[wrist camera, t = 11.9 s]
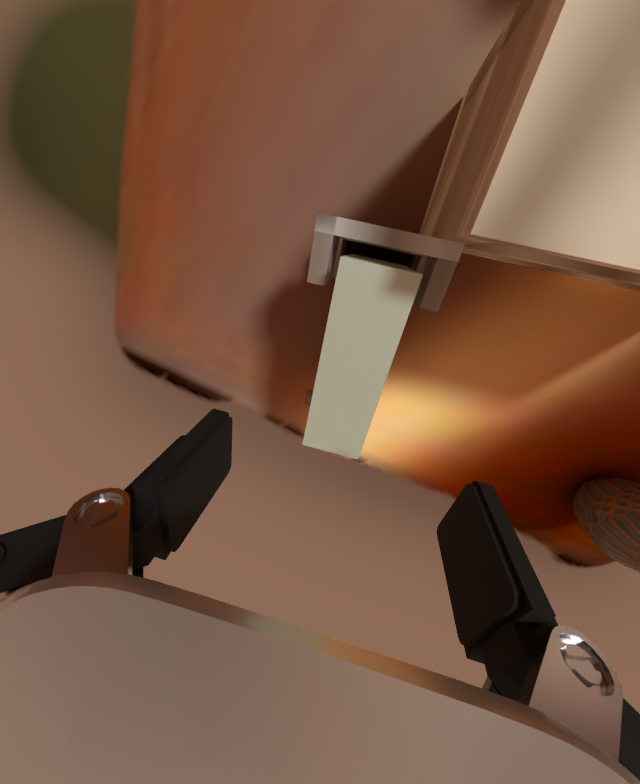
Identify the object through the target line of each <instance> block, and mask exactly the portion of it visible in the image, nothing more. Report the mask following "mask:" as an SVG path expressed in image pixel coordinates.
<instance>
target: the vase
mask: <svg viewBox="0 0 640 784" xmlns="http://www.w3.org/2000/svg"><path fill="white" fill-rule="evenodd" d="M573 510H574V513H575V516H576V519H577V521H578V523H579V525H580V526H581V528H582V529H583V531H584V532H585V534H586V535H587V536H588V537H589V539H590V540H591V541H592V542H593V543H594V544H595V545H596V546H597V547H598V548H600V549H601V550H602V551H603V552H604V553H606V554H607V555H608V556H610V557H611V558H613V559H614V560H616V561H617V562H619V563H621V564H623V565H625V566H627V567H629V568H632V569H634V570H636V571H638V572H640V484H639V483H637V482H634V481H631V480H626V479H622V478H612V477H603V478H596V479H593V480H590V481H588V482H586V483H584V484H583V485H581V486H580V487H579V489H578V490H577V492H576V494H575V496H574V499H573Z"/></svg>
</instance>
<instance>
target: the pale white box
mask: <svg viewBox="0 0 640 784" xmlns="http://www.w3.org/2000/svg"><path fill="white" fill-rule="evenodd" d="M422 276H423V274H421V273H419V272H416V271H414V270H412V269H410V268H408V267H406V266H404V265H402V264H398V263H393V262H389V261H384V260H380V259H375V258H371V257H366V256H362V255H357V254H350V255H345V256H340V261H339V266H338V271H337V276H336V281H335V286H334V291H333V296H332V301H331V306H330V311H329V316H328V320H327V325H326V330H325V335H324V340H323V345H322V350H321V355H320V360H319V365H318V370H317V375H316V380H315V385H314V390H310V389H309V390H308V392H307V395H306V400H305V404H308V405H310V409H309V414H308V419H307V424H306V429H305V434H304V439H303V445H306V446H309V447H313V448H317V449H321V450H324V451H328V452H332V453H336V454H340V455H343V456H347V457H351V458H355V459H358V458H359V455H360V452H361V449H362V446H363V444H364V441H365V438H366V435H367V432H368V429H369V427H370V424H371V421H372V418H373V415H374V412H375V410H376V407H377V404H378V401H379V398H380V395H381V392H382V390H383V387H384V384H385V381H386V378H387V375H388V373H389V370H390V367H391V364H392V361H393V358H394V356H395V353H396V350H397V347H398V344H399V341H400V339H401V336H402V333H403V330H404V327H405V324H406V321H407V319H408V316H409V313H410V310H411V307H412V304H413V302H414V299H415V296H416V293H417V290H418V287H419V285H420V282H421V279H422Z"/></svg>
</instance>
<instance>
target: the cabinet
mask: <svg viewBox="0 0 640 784" xmlns="http://www.w3.org/2000/svg"><path fill="white" fill-rule="evenodd" d="M347 240H349V241H353V242H358V243H363V244H367V245H372V246H376V247H381V248H385V249H390V250H394V251H399V252H404V253H408V254H413V255H415V256H414V259H413V262H412V265H411V268H410V269H412V270H414V271H416V272H419V273H421V274H423V276H422V279H421V282H420V285H419V287H418V290H417V293H416V296H415V299H414V302H415V303H416V304H417V305H418V307H419V308H421V309H426V310H430V311H434V312H438V311H439V308H440V306H441V303H442V301H443V298H444V296H445V293H446V291H447V288H448V286H449V284H450V281H451V279H452V276H453V274H454V271H455V269H456V266H457V264H458V261H459V259H460V256H461V254H462V253H465V254H470V255H474V256H479V257H484V258H488V259H493V260H497V261H502V262H507V263H511V264H516V265H520V266H525V267H530V268H534V269H539V270H544V271H548V272H553V273H557V274H562V275H567V276H571V277H576V278H580V279H585V280H590V281H594V282H599V283H603V284H608V285H613V286H617V287H622V288H627V289H631V290H636V291H640V0H520V2H519V4H518V5H517V7H516V9H515V10H514V12H513V14H512V15H511V17H510V19H509V21H508V22H507V24H506V26H505V27H504V29H503V31H502V32H501V34H500V36H499V37H498V39H497V41H496V42H495V44H494V46H493V48H492V49H491V51H490V53H489V54H488V56H487V58H486V59H485V61H484V63H483V64H482V66H481V68H480V69H479V71H478V73H477V75H476V76H475V78H474V80H473V81H472V83H471V85H470V86H469V88H468V90H467V91H466V93H465V95H464V97H463V100H462V103H461V106H460V109H459V112H458V115H457V118H456V121H455V124H454V127H453V130H452V134H451V137H450V140H449V143H448V146H447V149H446V152H445V155H444V158H443V161H442V164H441V167H440V171H439V174H438V177H437V180H436V183H435V186H434V189H433V192H432V195H431V198H430V201H429V204H428V208H427V211H426V214H425V217H424V220H423V223H422V226H421V229H420V232H419V234H416V233H411V232H407V231H402V230H397V229H393V228H388V227H383V226H379V225H374V224H369V223H365V222H360V221H355V220H351V219H346V218H341V217H337V216H332V215H327V214H323V213H318V212H317V219H316V225H315V232H314V238H313V245H312V251H311V258H310V264H309V271H308V277H307V282H309V283H313V284H318V285H322V286H325V285H326V284H327V283H329V282H330V281H331V279H332V277H334V278H335V277H336V276H337V271H338V266H339V261H340V256H344V253H345V249H346V244H347Z"/></svg>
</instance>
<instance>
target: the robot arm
mask: <svg viewBox="0 0 640 784" xmlns="http://www.w3.org/2000/svg"><path fill="white" fill-rule="evenodd" d="M231 452H232V418H231V417H229V414H228V413H227V412H224V411H220V410H216V409H212V410H211V411H210V412H209V413H208V414H207V415H206V416H205V417H204V418H203V419H202V420H201V421H200V422H199V423H198V424H197V425H196V426H195V427H194V428H193V429H192V430H191V431H190V432H189V433H188V434H187V435H183V436H181V437H180V438H178V439H177V440H176V441H175V442H174V443H173V444H172V445H171V446H169V447H168V448H167V449H166V450H165V451H164V452H163V453H162V454H161V455H160V456H159V457H158V458H157V459H156V460H155V461H154V462H153V463H152V464H151V465H150V466H149V467H147V469H145V470H144V471H143V472H142V473H141V474H140V475H139V476H138V477H137V478H136V479H135V480H134V481H133V482H132V483H131V484H130V485H129V486H128V487H127V488H126V489H124V490H122V489H119V488H104V489H100V490H97V491H94V492H91V493H89V494H87V495H85V496H84V497H82V498H81V499H79V500H78V501H77V502H75V503H74V504H73V506H72V507H71V508H70V509H69V511H68V513H67V515H64V516H61V517H58V518H55V519H51V520H48V521H45V522H41V523H38V524H35V525H31V526H28V527H25V528H22V529H19V530H15V531H12V532H9V533H6V534H2V535H0V784H640V714H639V713H638V712H637V711H636V710H635V709H634V708H633V707H632V706H631V705H629V703H628V702H626V701H625V699H623V692H622V686H621V684H620V681H619V679H618V676H617V674H616V672H615V671H614V669H613V667H612V666H611V665H610V663H609V661H608V660H607V659H606V657H605V656H604V655H603V654H602V653H601V651H600V650H599V649H598V648H597V647H596V646H595V645H594V644H593V643H592V642H591V641H590V640H589V639H587V638H586V637H585V636H583V635H582V634H581V633H579V632H578V631H576V630H574V629H572V628H570V627H566V626H558V624H557V622H556V620H555V618H554V617H555V616H556V615H555V614H554V611H553V609H552V607H551V605H550V603H549V601H548V599H547V597H546V595H545V593H544V590H543V588H542V586H541V584H540V582H539V580H538V578H537V576H536V574H535V572H534V570H533V568H532V566H531V564H530V561H529V559H528V558H527V555H526V553H525V551H524V549H523V547H522V545H521V543H520V541H519V539H518V537H517V535H516V532H515V530H514V528H513V526H512V524H511V522H510V520H509V518H508V516H507V514H506V512H505V510H504V508H503V506H502V503H501V501H500V499H499V497H498V495H497V493H496V491H495V489H494V488H493V486H491V485H488V484H484V483H481V482H477V481H474V482H472V483H471V484H470V483H468V484H467V485H466V486H465V487H464V489H463V490H462V492H461V493H460V495H459V496H458V498H457V499H456V500H455V502H454V503H453V505H452V506H451V508H450V509H449V511H448V512H447V514H446V515H445V516H444V518H443V519H442V521H441V522H440V524H439V526H438V529H437V536H438V541H439V546H440V551H441V556H442V560H443V565H444V570H445V575H446V580H447V585H448V590H449V595H450V599H451V605H452V609H453V614H454V619H455V624H456V628H457V634H458V637H459V641H460V643H461V644H462V645H464V647H465V652H466V656H467V658H468V659H471V660H474V661H477V662H480V663H483V664H485V667H486V671H487V675H488V676H487V678H486V680H485V683H484V685H483V687H482V689H481V688H479V687H476V686H473V685H470V684H467V683H465V682H462V681H459V680H456V679H453V678H450V677H447V676H444V675H441V674H438V673H435V672H433V671H430V670H427V669H424V668H421V667H418V666H415V665H412V664H409V663H406V662H403V661H400V660H397V659H394V658H391V657H388V656H385V655H382V654H379V653H376V652H373V651H370V650H367V649H364V648H361V647H358V646H355V645H352V644H349V643H346V642H343V641H340V640H337V639H334V638H331V637H328V636H325V635H322V634H319V633H316V632H313V631H310V630H307V629H304V628H301V627H298V626H295V625H292V624H289V623H286V622H283V621H280V620H277V619H274V618H271V617H268V616H265V615H261V614H258V613H255V612H252V611H249V610H246V609H243V608H240V607H237V606H234V605H230V604H228V603H225V602H222V601H218V600H215V599H212V598H209V597H206V596H203V595H200V594H196V593H193V592H190V591H186V590H183V589H180V588H177V587H174V586H170V585H167V584H163V583H160V582H157V581H154V580H149V579H146V566H147V565H149V563H150V562H151V561H152V559H153V558H154V557H157V558H160V559H163V560H166V558H167V557H168V555H169V554H170V552H171V551H172V552H175V551H176V550H177V549H178V548H179V547H180V545H181V544H182V542H183V541H184V539H185V538H186V536H187V535H188V533H189V532H190V530H191V529H192V527H193V526H194V524H195V523H196V521H197V519H198V518H199V517H200V515H201V513H202V512H203V511H204V509H205V508H206V506H207V505H208V503H209V502H210V500H211V498H212V497H213V495H214V494H215V492H216V491H217V489H218V488H219V486H220V485H221V483H222V482H223V480H224V479H225V477H226V476H227V474H228V473H229V471H230V468H231Z"/></svg>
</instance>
